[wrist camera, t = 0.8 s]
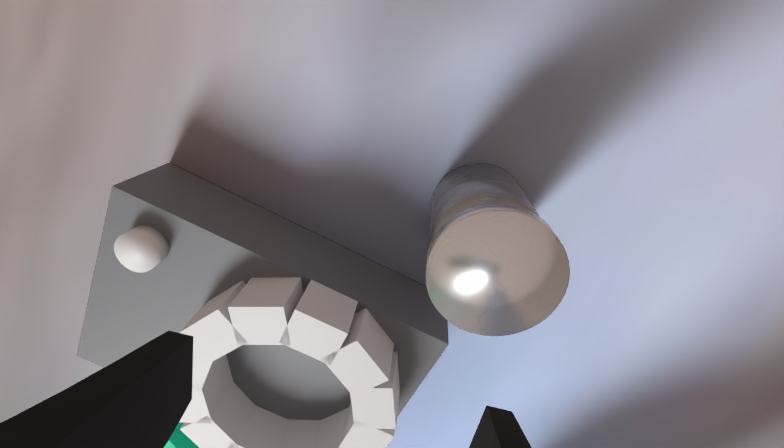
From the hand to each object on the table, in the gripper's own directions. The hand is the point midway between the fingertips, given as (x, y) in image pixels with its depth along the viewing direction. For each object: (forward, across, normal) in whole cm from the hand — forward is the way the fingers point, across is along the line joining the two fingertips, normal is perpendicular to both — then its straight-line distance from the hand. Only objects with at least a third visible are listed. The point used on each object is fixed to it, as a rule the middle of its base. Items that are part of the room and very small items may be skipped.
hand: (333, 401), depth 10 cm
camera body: (+10, +4, +5) cm, 11 cm away
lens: (+10, -4, -2) cm, 11 cm away
